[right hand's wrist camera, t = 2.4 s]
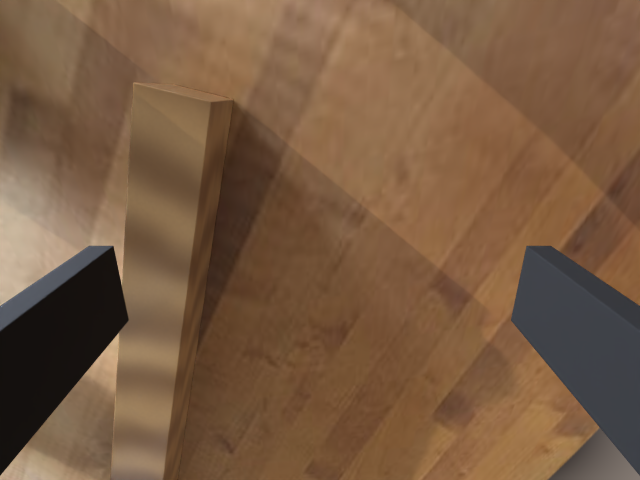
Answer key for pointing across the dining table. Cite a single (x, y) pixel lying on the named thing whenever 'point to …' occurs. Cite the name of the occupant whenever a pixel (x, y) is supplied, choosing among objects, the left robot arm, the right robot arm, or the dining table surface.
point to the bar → (165, 270)
